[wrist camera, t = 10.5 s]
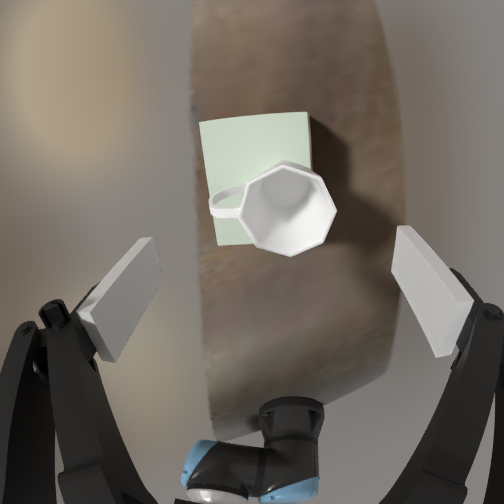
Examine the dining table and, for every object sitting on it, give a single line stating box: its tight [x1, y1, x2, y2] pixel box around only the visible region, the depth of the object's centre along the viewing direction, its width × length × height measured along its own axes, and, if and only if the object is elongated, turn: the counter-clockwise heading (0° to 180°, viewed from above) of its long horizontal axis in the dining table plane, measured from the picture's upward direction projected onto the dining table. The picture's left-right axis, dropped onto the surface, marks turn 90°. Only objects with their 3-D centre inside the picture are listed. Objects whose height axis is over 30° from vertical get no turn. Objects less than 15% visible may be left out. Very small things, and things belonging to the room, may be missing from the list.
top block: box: [199, 112, 311, 246], centre depth 29 cm, size 13×10×4 cm
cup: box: [209, 159, 337, 257], centre depth 23 cm, size 7×10×8 cm
